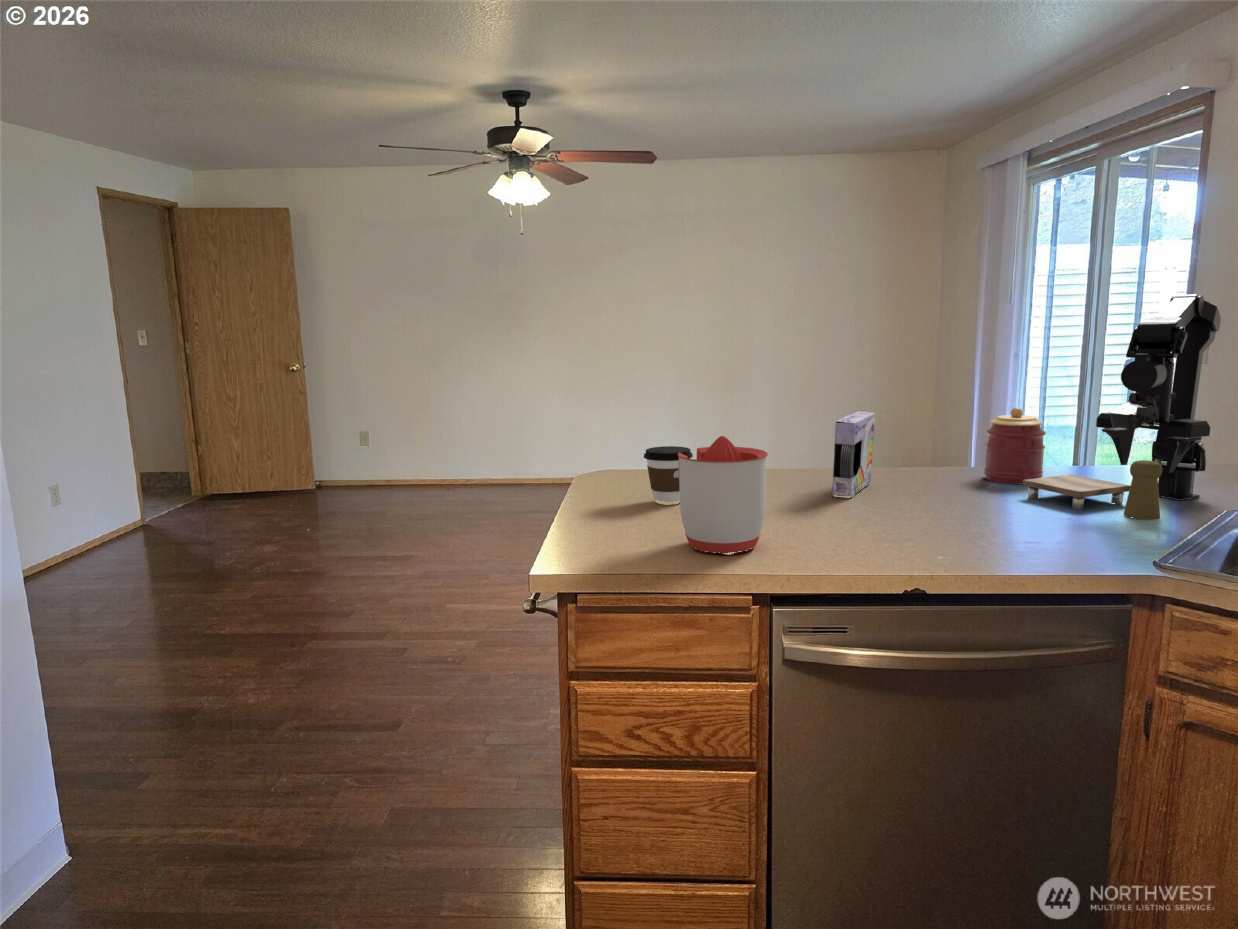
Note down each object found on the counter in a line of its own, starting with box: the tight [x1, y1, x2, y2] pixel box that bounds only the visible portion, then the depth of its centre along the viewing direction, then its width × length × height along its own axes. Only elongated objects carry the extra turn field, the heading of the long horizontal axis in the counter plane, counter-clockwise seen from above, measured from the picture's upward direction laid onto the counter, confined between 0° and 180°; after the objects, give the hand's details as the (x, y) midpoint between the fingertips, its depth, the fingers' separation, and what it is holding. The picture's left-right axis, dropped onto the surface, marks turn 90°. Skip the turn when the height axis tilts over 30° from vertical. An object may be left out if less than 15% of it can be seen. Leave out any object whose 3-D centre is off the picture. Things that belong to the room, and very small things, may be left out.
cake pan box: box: [831, 411, 876, 496], centre depth 180 cm, size 19×5×18 cm, turn 148°
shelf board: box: [1022, 473, 1131, 498], centre depth 166 cm, size 14×14×1 cm
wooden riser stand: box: [1027, 486, 1125, 511], centre depth 166 cm, size 13×13×3 cm
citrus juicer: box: [674, 435, 769, 553], centre depth 138 cm, size 16×17×20 cm
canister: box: [983, 406, 1047, 485], centre depth 189 cm, size 13×13×18 cm
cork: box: [1123, 459, 1162, 521], centre depth 152 cm, size 6×6×11 cm
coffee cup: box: [643, 445, 694, 502], centre depth 174 cm, size 11×11×12 cm
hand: (1146, 468), depth 151 cm, fingers open, 9 cm apart
